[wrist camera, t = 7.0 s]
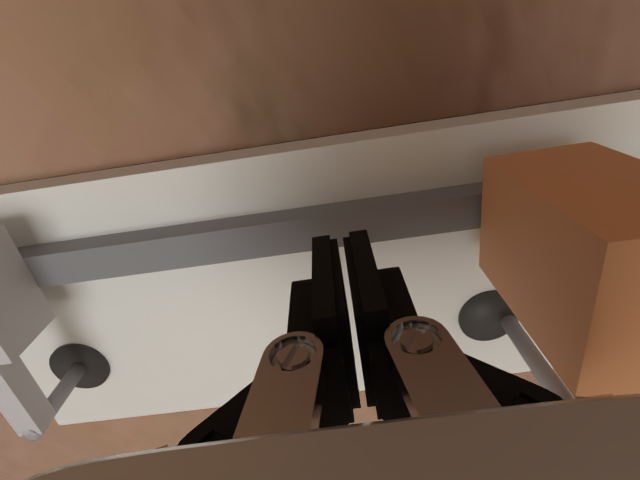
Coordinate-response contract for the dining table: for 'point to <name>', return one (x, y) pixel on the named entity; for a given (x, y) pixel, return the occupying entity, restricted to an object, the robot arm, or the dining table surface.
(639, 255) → the orange block with stem
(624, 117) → the gauge board
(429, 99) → the dining table surface
